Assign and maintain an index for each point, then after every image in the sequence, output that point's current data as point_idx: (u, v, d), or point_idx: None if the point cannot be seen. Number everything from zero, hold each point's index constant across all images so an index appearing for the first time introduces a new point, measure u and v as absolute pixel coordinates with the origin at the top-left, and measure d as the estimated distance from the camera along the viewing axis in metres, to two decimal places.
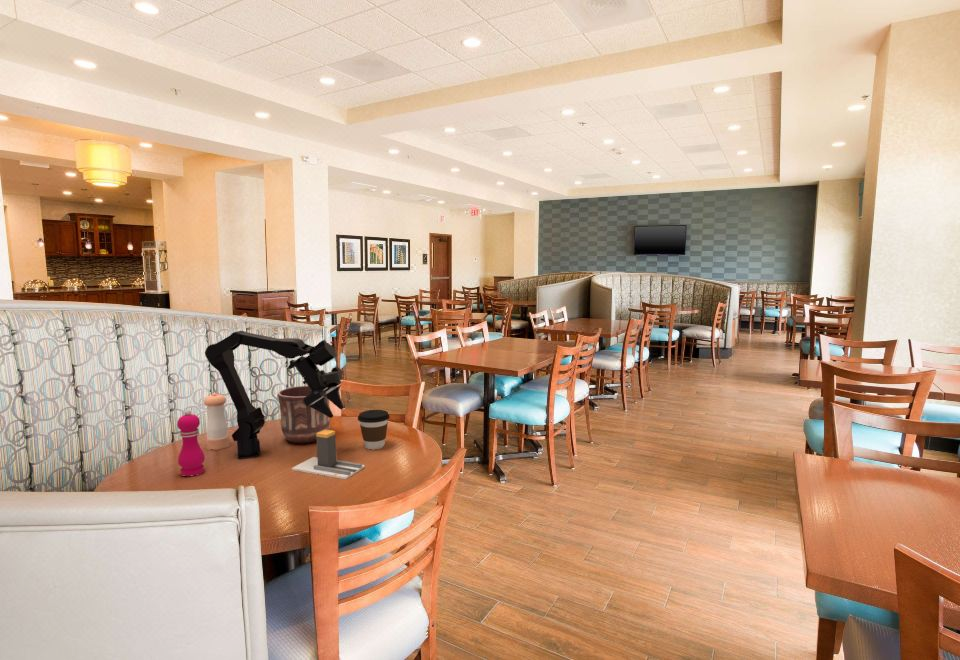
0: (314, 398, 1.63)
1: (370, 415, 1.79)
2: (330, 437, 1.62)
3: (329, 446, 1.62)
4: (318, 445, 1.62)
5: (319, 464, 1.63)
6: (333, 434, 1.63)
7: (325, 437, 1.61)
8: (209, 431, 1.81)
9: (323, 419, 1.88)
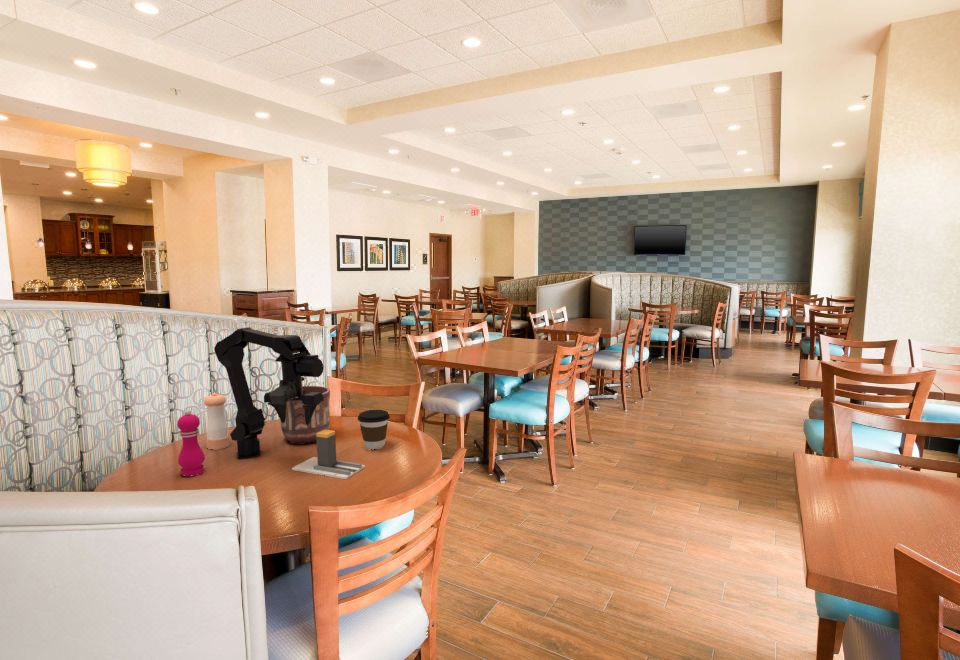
0: None
1: (370, 415, 1.79)
2: (330, 437, 1.62)
3: (329, 446, 1.62)
4: (318, 445, 1.62)
5: (319, 464, 1.63)
6: (333, 434, 1.63)
7: (325, 437, 1.61)
8: (209, 431, 1.81)
9: (323, 419, 1.88)
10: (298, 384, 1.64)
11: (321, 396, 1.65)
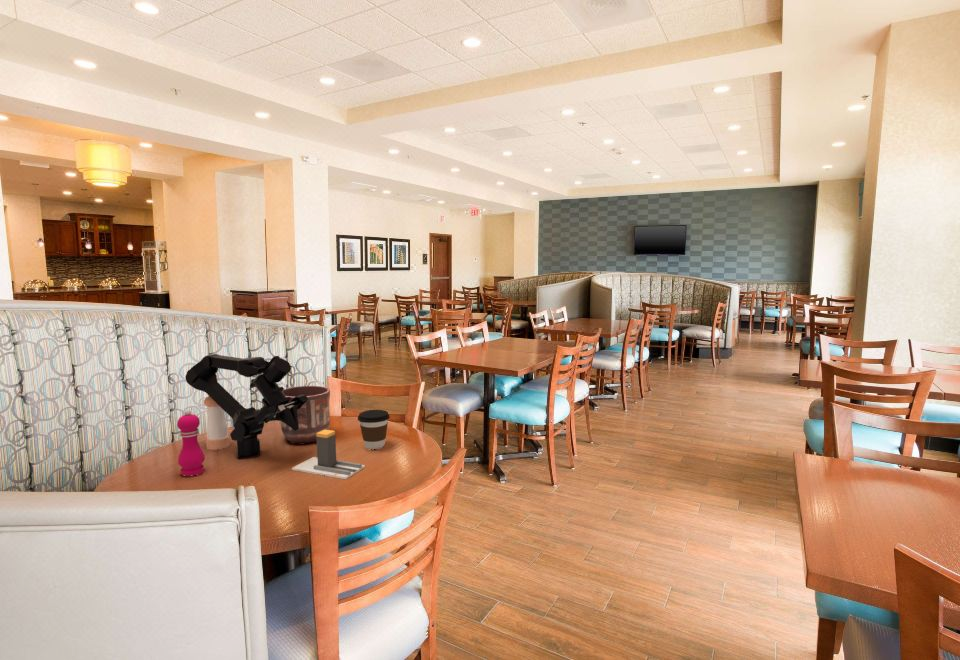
0: None
1: (370, 415, 1.79)
2: (330, 437, 1.62)
3: (329, 446, 1.62)
4: (318, 445, 1.62)
5: (319, 464, 1.63)
6: (333, 434, 1.63)
7: (325, 437, 1.61)
8: (209, 432, 1.81)
9: (323, 419, 1.88)
10: (267, 399, 1.66)
11: (262, 412, 1.59)
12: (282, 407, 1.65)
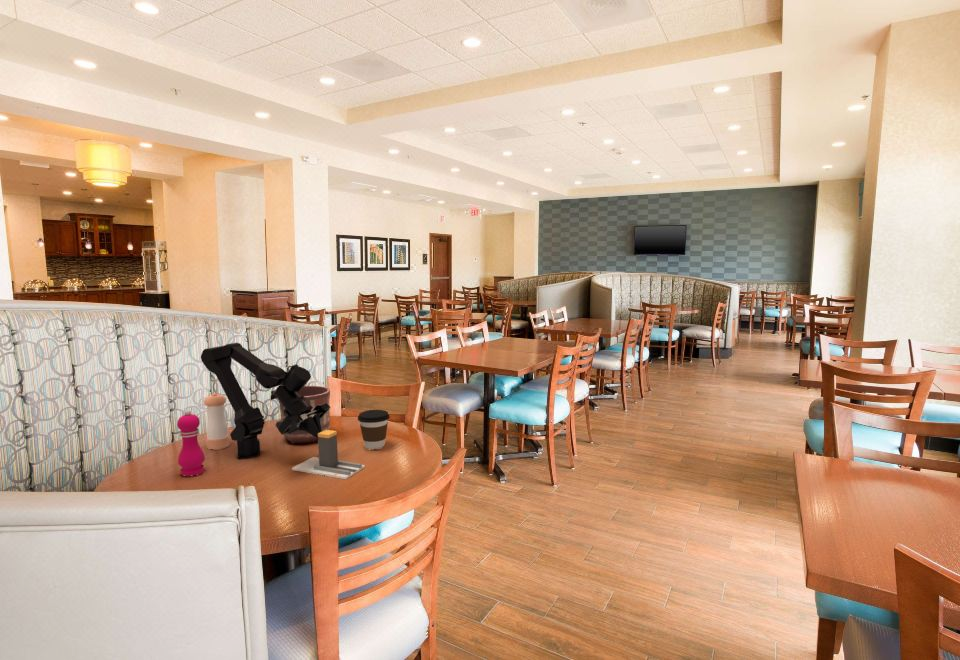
0: None
1: (370, 415, 1.79)
2: (331, 437, 1.61)
3: (331, 447, 1.62)
4: (320, 445, 1.62)
5: (321, 464, 1.62)
6: (335, 434, 1.63)
7: (327, 437, 1.60)
8: (209, 431, 1.81)
9: (323, 419, 1.88)
10: (288, 409, 1.64)
11: (285, 422, 1.56)
12: (304, 416, 1.62)
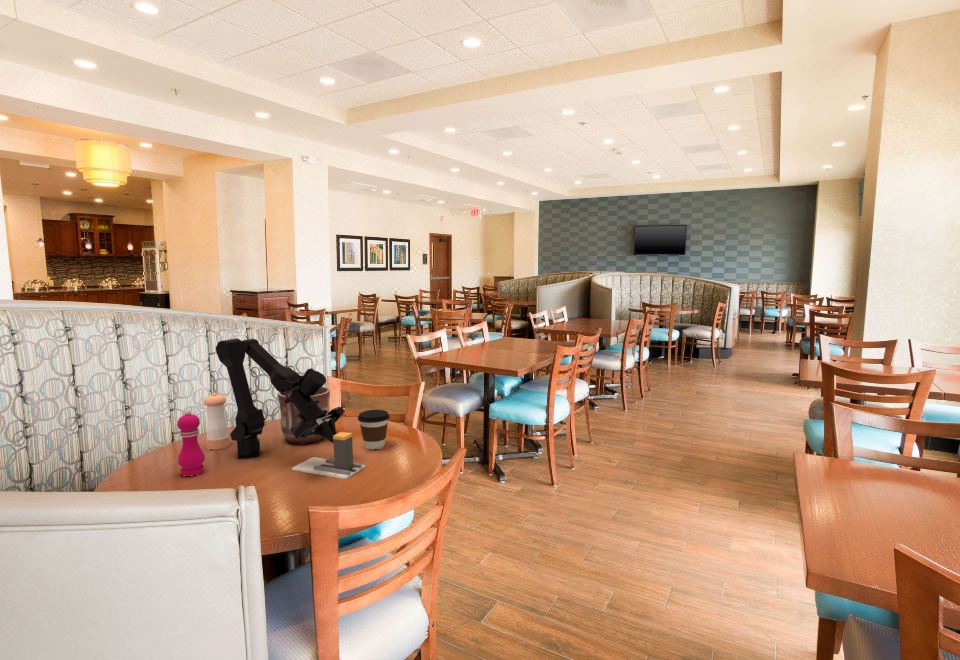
0: None
1: (370, 415, 1.79)
2: (347, 439, 1.59)
3: (346, 449, 1.59)
4: (335, 448, 1.60)
5: (336, 467, 1.60)
6: (350, 436, 1.61)
7: (342, 439, 1.58)
8: (209, 431, 1.81)
9: None
10: (303, 414, 1.62)
11: (300, 426, 1.54)
12: (320, 421, 1.60)
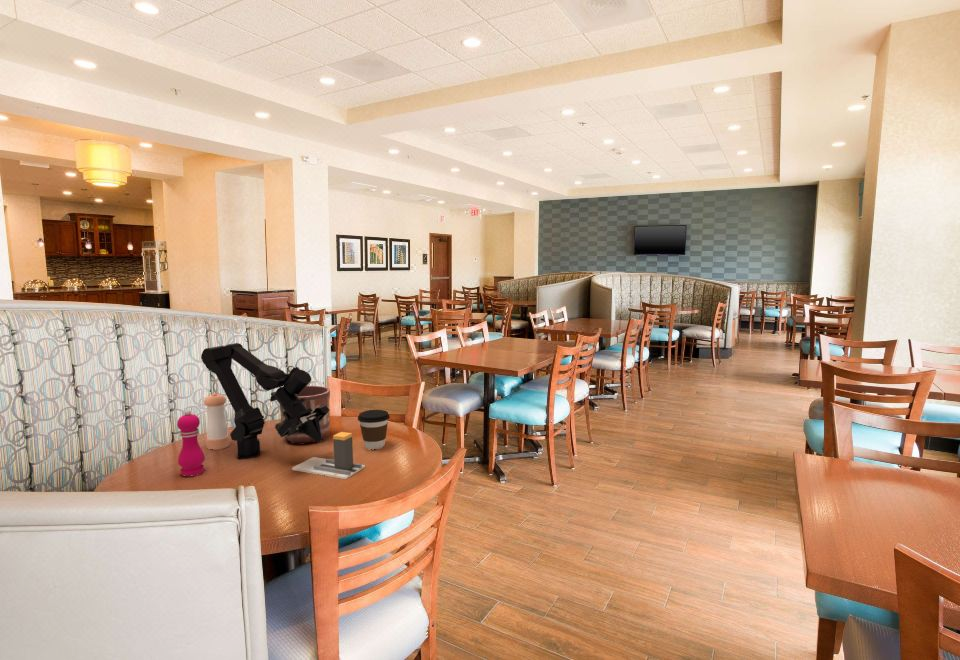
0: None
1: (370, 415, 1.79)
2: (347, 439, 1.59)
3: (347, 449, 1.59)
4: (335, 448, 1.60)
5: (336, 467, 1.60)
6: (350, 436, 1.61)
7: (342, 439, 1.58)
8: (209, 431, 1.81)
9: (323, 419, 1.88)
10: (288, 412, 1.64)
11: (284, 424, 1.56)
12: (304, 419, 1.63)
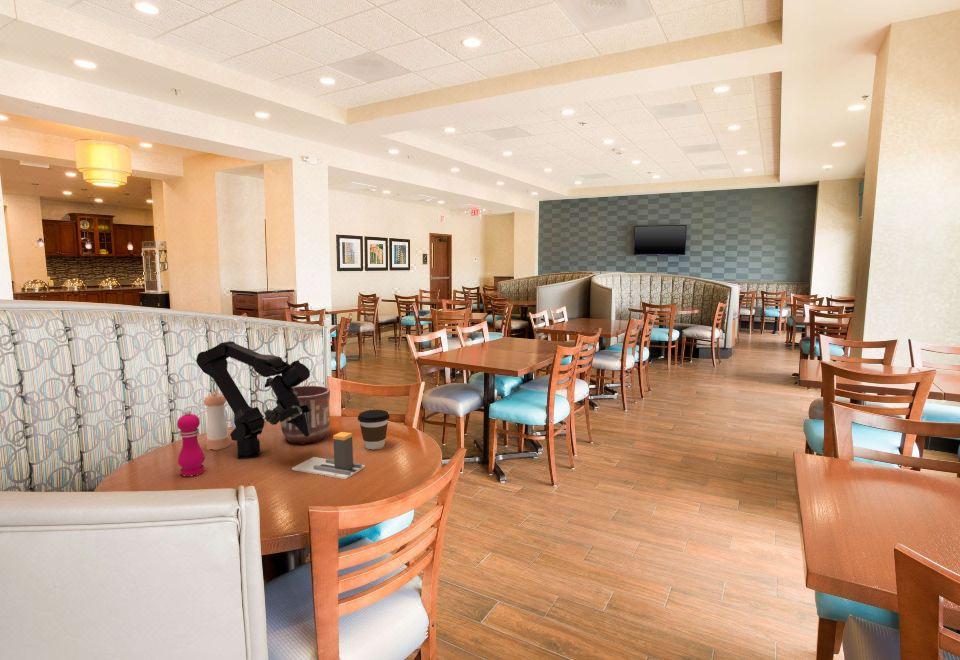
0: None
1: (370, 415, 1.79)
2: (347, 439, 1.59)
3: (347, 449, 1.59)
4: (335, 448, 1.60)
5: (336, 467, 1.60)
6: (350, 436, 1.61)
7: (342, 439, 1.58)
8: (209, 431, 1.81)
9: (323, 419, 1.88)
10: (284, 400, 1.65)
11: (291, 410, 1.58)
12: (300, 410, 1.66)
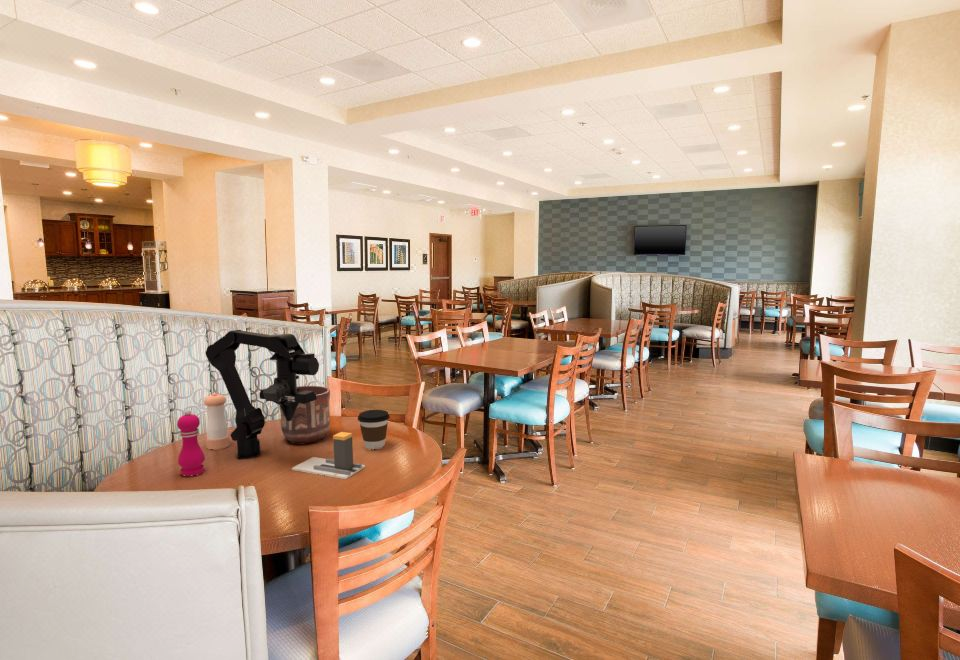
0: None
1: (370, 415, 1.79)
2: (347, 439, 1.59)
3: (347, 449, 1.59)
4: (335, 448, 1.60)
5: (336, 467, 1.60)
6: (350, 436, 1.61)
7: (342, 439, 1.58)
8: (209, 431, 1.81)
9: (323, 419, 1.88)
10: (292, 382, 1.67)
11: (314, 395, 1.67)
12: None
